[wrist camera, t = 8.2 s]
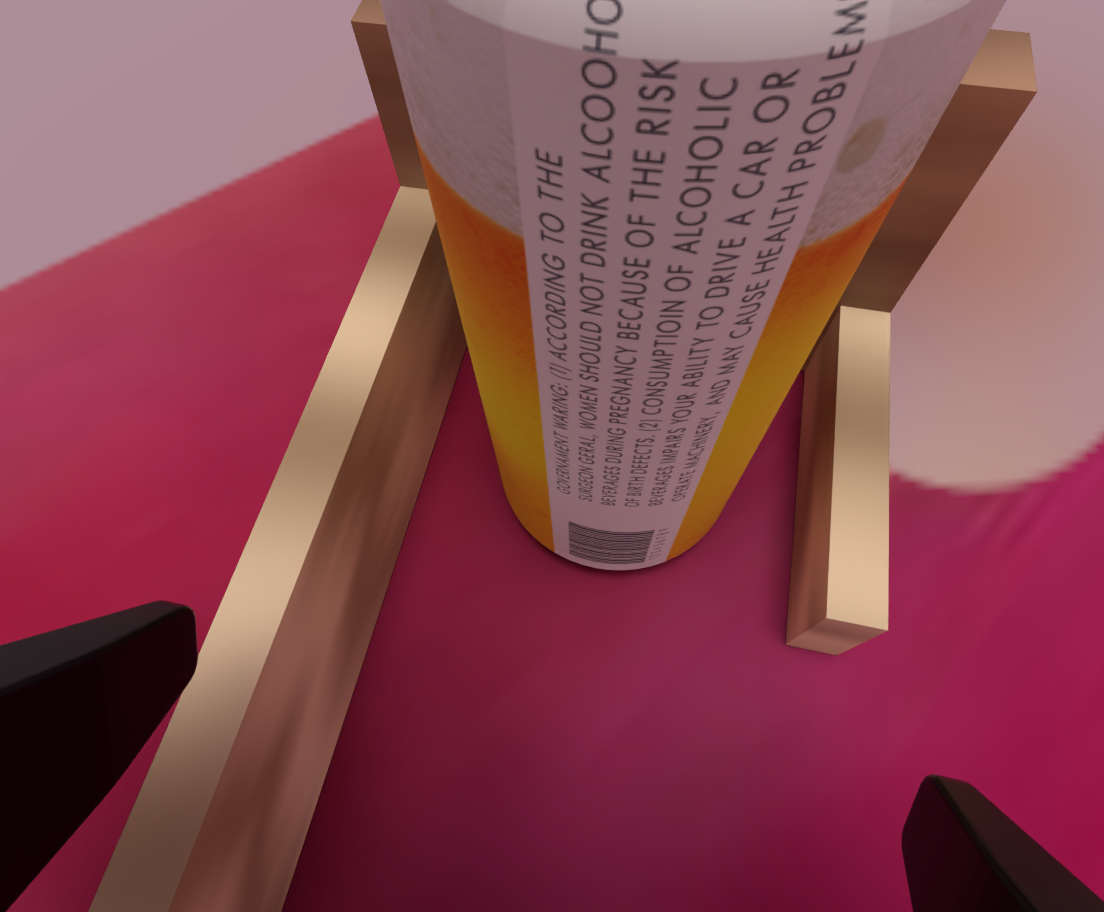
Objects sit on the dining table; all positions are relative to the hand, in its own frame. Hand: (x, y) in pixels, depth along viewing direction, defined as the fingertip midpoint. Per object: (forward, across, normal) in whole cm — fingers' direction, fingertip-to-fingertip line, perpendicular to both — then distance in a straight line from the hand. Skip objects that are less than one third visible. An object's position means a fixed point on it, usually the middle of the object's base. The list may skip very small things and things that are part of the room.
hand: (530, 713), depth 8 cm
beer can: (+11, 0, +1) cm, 11 cm away
